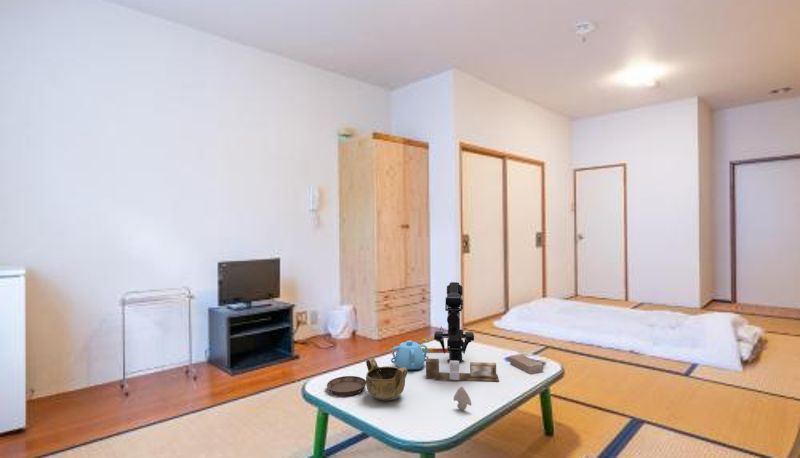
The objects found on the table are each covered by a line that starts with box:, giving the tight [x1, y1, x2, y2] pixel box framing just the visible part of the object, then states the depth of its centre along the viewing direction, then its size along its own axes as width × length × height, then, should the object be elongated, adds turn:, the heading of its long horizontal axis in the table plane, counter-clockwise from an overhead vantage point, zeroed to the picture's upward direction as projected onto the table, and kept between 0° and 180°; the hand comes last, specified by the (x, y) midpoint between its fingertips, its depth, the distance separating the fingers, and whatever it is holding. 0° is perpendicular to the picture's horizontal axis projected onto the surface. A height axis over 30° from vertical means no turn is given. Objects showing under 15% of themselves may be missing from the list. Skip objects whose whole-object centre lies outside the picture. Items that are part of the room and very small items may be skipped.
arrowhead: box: [453, 385, 472, 411], centre depth 169 cm, size 8×3×10 cm, turn 54°
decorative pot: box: [390, 340, 429, 371], centre depth 220 cm, size 16×16×14 cm
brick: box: [509, 354, 544, 375], centre depth 216 cm, size 17×8×5 cm, turn 22°
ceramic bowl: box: [365, 357, 408, 402], centre depth 182 cm, size 22×17×15 cm
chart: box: [419, 326, 464, 354], centre depth 244 cm, size 30×3×15 cm, turn 88°
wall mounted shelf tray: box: [469, 361, 497, 378], centre depth 202 cm, size 12×4×6 cm, turn 83°
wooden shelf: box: [425, 357, 500, 383], centre depth 204 cm, size 34×8×8 cm, turn 83°
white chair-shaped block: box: [449, 361, 460, 381], centre depth 204 cm, size 4×9×6 cm, turn 173°
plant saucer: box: [326, 375, 366, 397], centre depth 192 cm, size 18×18×3 cm
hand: (454, 353), depth 204 cm, fingers open, 9 cm apart
